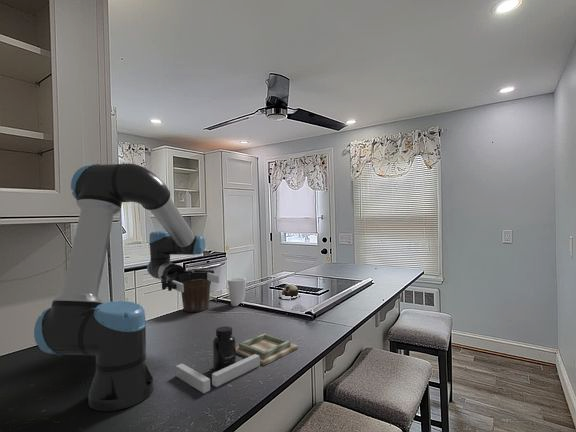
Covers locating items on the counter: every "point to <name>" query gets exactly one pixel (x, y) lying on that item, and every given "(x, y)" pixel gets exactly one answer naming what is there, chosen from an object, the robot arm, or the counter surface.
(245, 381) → the counter surface
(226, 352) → the supplement bottle
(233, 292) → the foam cup
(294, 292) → the skull
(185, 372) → the bracket
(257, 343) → the seating station
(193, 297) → the plant pot
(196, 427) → the counter surface
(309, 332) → the counter surface
